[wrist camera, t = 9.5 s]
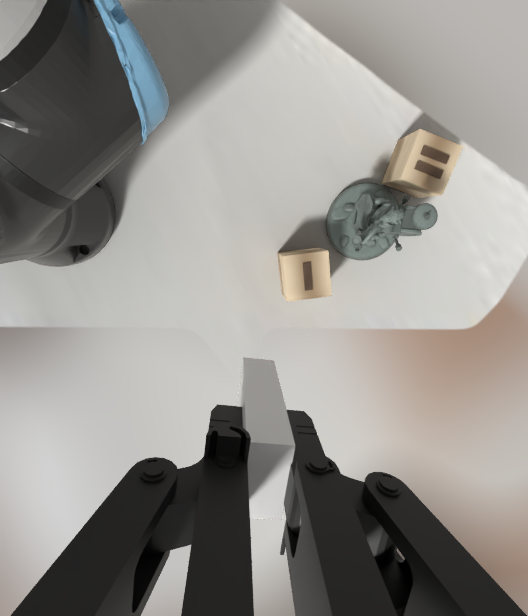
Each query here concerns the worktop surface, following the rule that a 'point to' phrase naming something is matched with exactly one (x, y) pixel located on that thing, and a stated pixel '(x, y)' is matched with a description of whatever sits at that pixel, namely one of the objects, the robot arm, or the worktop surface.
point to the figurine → (373, 221)
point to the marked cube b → (421, 164)
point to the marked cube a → (304, 274)
